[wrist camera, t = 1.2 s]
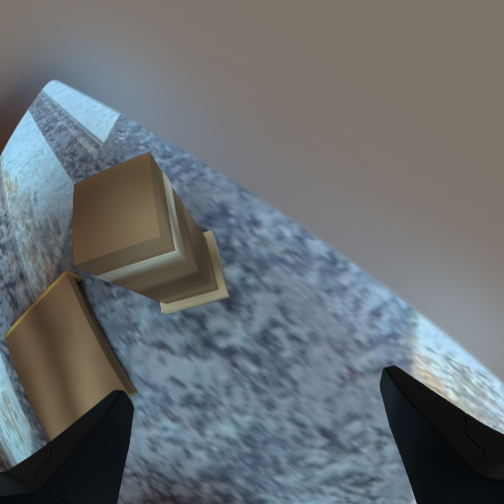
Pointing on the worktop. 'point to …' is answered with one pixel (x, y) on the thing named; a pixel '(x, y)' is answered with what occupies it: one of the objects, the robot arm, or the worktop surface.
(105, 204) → the tan square pillar
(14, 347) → the dock
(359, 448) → the worktop surface
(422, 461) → the robot arm
